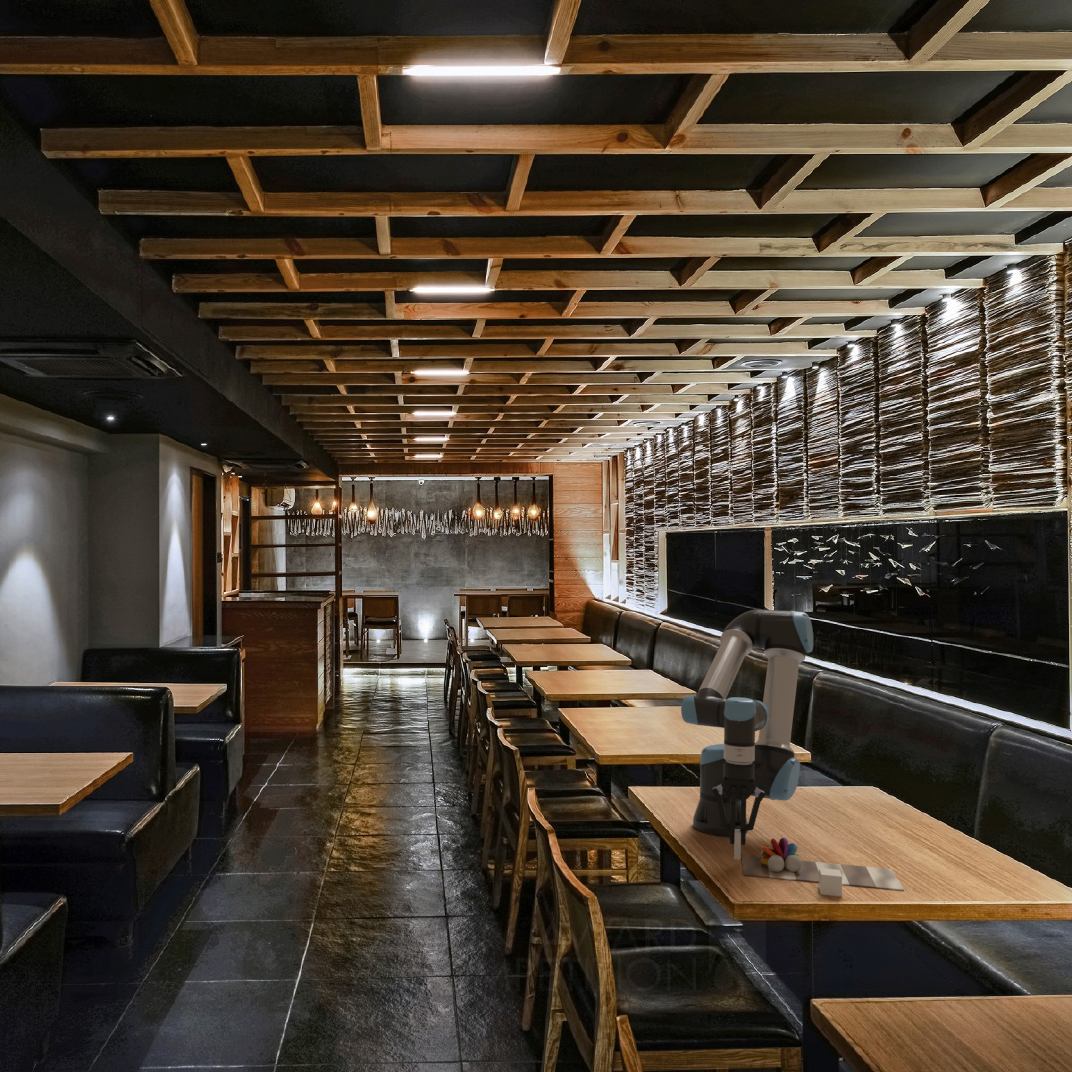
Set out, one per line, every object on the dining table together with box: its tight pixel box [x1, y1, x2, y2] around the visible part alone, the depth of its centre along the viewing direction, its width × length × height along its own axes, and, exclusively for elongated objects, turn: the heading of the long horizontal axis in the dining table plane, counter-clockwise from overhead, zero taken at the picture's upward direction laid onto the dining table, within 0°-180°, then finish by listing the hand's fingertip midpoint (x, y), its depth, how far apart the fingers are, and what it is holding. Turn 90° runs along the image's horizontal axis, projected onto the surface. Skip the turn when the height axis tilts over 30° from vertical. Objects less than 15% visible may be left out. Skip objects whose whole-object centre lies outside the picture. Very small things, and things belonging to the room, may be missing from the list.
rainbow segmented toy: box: [760, 837, 802, 872], centre depth 209 cm, size 8×10×7 cm
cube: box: [818, 868, 843, 897], centre depth 195 cm, size 4×4×4 cm
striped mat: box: [741, 854, 905, 892], centre depth 207 cm, size 36×14×1 cm, turn 79°
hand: (737, 857), depth 211 cm, fingers closed
